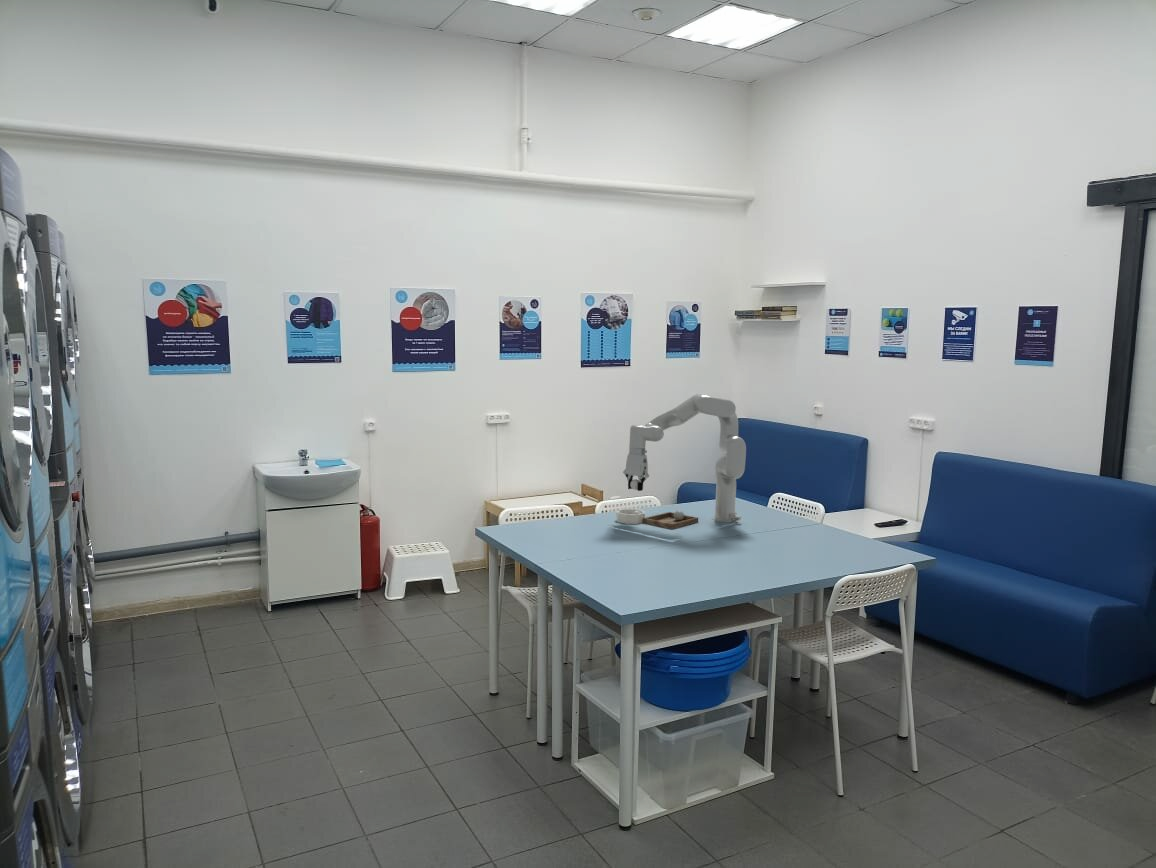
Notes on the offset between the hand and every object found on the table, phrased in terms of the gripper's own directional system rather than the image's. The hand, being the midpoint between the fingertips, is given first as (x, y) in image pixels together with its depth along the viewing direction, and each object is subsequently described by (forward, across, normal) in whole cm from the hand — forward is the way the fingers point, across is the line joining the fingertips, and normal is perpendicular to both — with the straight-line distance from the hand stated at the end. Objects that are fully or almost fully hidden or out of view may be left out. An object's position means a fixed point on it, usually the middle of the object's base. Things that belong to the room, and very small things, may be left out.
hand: (635, 489), depth 382 cm
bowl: (+16, +2, 0) cm, 16 cm away
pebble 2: (+15, -13, -18) cm, 27 cm away
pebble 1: (0, 0, 0) cm, 0 cm away
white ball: (+15, +2, -2) cm, 15 cm away
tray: (+16, -13, -11) cm, 24 cm away
